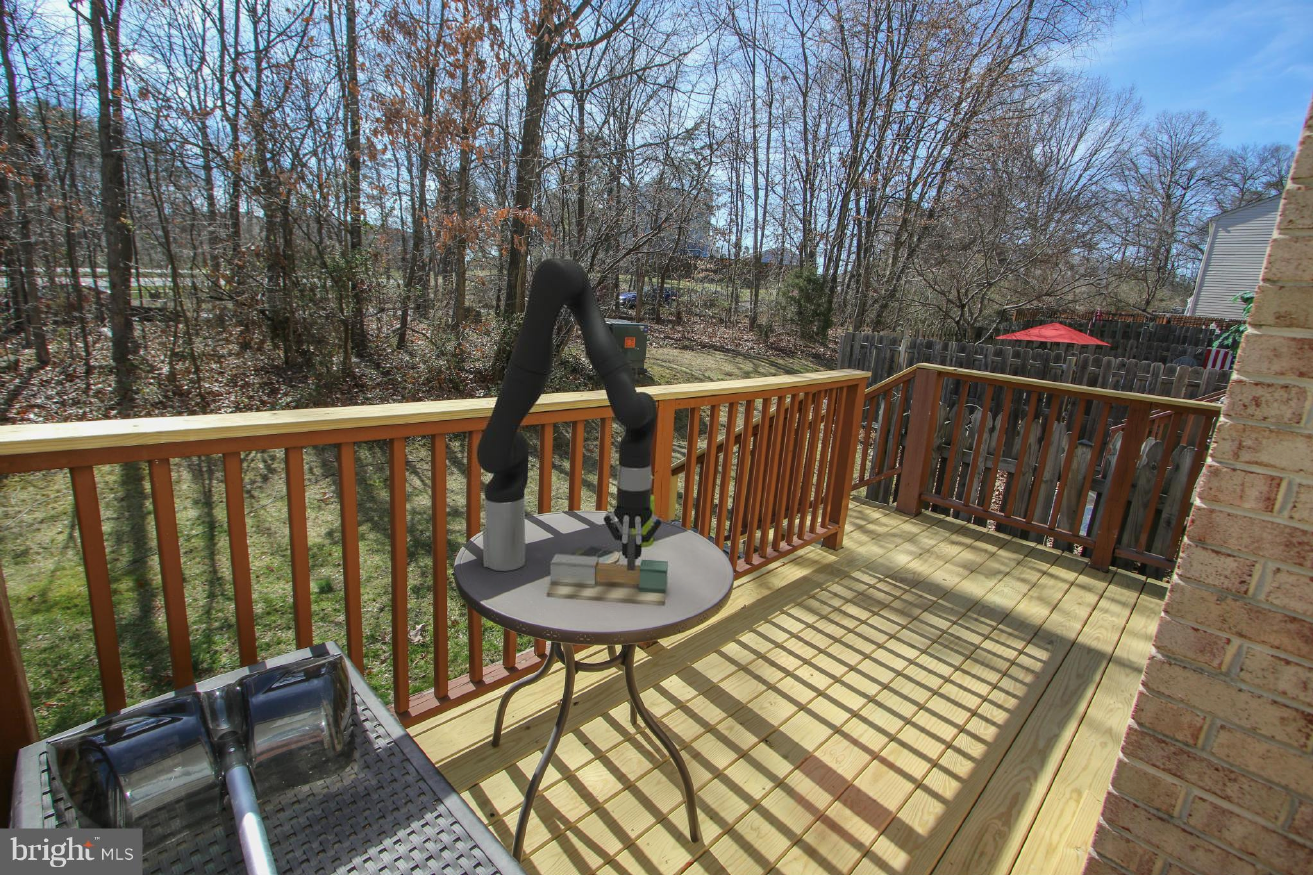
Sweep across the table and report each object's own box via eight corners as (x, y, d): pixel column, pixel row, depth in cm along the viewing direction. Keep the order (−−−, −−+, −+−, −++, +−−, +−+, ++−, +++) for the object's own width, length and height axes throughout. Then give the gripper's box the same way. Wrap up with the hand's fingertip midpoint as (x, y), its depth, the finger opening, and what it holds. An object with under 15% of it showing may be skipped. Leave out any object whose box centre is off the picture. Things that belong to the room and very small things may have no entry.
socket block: (638, 591, 137) (639, 569, 135) (640, 581, 141) (641, 559, 140) (665, 593, 136) (666, 570, 135) (666, 583, 141) (667, 561, 140)
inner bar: (571, 578, 138) (572, 535, 136) (574, 572, 141) (574, 530, 139) (650, 584, 137) (652, 540, 135) (652, 578, 140) (653, 535, 138)
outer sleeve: (550, 585, 138) (550, 562, 137) (555, 575, 143) (555, 553, 142) (594, 588, 137) (594, 565, 136) (598, 578, 142) (598, 556, 141)
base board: (546, 596, 135) (546, 592, 135) (559, 572, 146) (559, 568, 146) (664, 605, 133) (664, 601, 133) (667, 580, 145) (667, 576, 144)
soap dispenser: (637, 549, 161) (640, 477, 157) (628, 539, 168) (630, 469, 163) (657, 546, 164) (660, 475, 159) (647, 537, 170) (650, 468, 165)
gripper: (600, 487, 130) (598, 562, 134) (664, 491, 129) (660, 566, 134) (605, 477, 138) (604, 548, 142) (666, 480, 137) (663, 552, 141)
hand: (631, 557), depth 138 cm, fingers closed on inner bar
